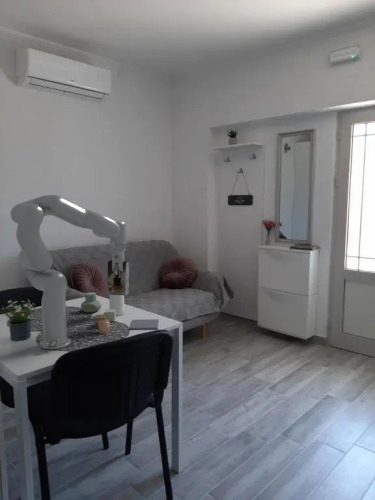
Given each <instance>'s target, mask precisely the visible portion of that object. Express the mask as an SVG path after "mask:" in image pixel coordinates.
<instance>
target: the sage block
mask: <svg viewBox="0 0 375 500" xmlns="http://www.w3.org/2000/svg"><path fill="white" fill-rule="evenodd" d="M106 314H107V320H109V321H115V322H116V319H117V316H116V309H110V308H108V309H105V310H104V314H103V315H106Z"/></svg>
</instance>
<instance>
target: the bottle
mask: <svg viewBox="0 0 375 500" xmlns="http://www.w3.org/2000/svg"><path fill="white" fill-rule="evenodd" d="M108 296H109V299H108V300H109V302H108V303H109V309H116V317H117V316H118V317H119V316H124V314H125V312H126V311H125V310H126V309H125V295H108Z"/></svg>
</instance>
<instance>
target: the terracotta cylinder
mask: <svg viewBox="0 0 375 500" xmlns="http://www.w3.org/2000/svg"><path fill="white" fill-rule="evenodd" d="M110 323H111V322H110V321H109V320H101V321H99V328H98V333H99V334H103V335H106V334H109V333H110V332H111V328H110V327H111V325H110Z"/></svg>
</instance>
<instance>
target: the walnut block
mask: <svg viewBox="0 0 375 500" xmlns="http://www.w3.org/2000/svg"><path fill="white" fill-rule="evenodd" d="M101 320H107V314H106V315H104V314H96V315H95V317H94V328H95V329H97V328H98V329H99V321H101Z"/></svg>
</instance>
